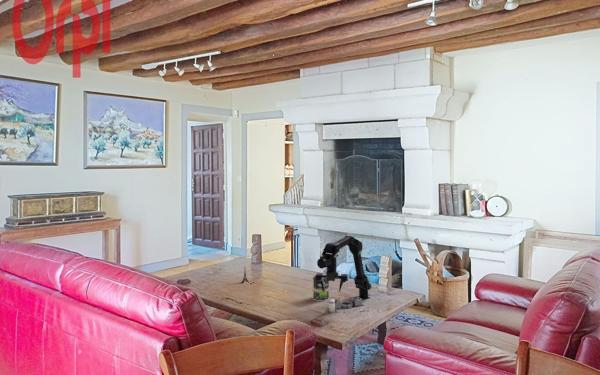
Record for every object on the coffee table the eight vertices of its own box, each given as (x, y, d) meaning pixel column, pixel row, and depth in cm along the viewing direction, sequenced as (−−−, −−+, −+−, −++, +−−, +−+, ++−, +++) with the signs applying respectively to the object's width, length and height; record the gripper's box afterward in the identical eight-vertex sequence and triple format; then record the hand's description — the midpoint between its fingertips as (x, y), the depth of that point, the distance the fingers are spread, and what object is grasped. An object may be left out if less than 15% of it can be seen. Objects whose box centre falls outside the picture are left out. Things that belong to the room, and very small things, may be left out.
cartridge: (328, 312, 267) (328, 300, 266) (329, 310, 270) (328, 298, 270) (334, 312, 266) (334, 301, 266) (335, 310, 270) (335, 299, 269)
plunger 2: (353, 303, 281) (353, 296, 281) (357, 303, 283) (357, 296, 282) (355, 305, 279) (355, 298, 278) (360, 304, 280) (360, 297, 279)
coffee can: (331, 300, 290) (331, 278, 289) (315, 302, 287) (315, 280, 286) (326, 295, 300) (325, 274, 299) (311, 297, 297) (310, 276, 296)
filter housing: (327, 306, 278) (327, 300, 278) (358, 302, 286) (358, 295, 286) (333, 311, 270) (333, 304, 270) (365, 306, 278) (365, 299, 278)
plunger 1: (332, 306, 276) (332, 299, 276) (337, 306, 277) (337, 299, 277) (334, 308, 273) (334, 301, 273) (339, 307, 275) (339, 300, 274)
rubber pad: (325, 311, 270) (325, 310, 270) (334, 310, 272) (334, 309, 272) (329, 314, 265) (329, 313, 265) (338, 313, 267) (338, 312, 267)
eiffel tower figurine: (244, 287, 324) (243, 268, 323) (233, 285, 329) (233, 266, 328) (257, 282, 336) (257, 264, 335) (246, 280, 342) (246, 262, 341)
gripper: (314, 268, 260) (314, 295, 261) (347, 269, 257) (347, 296, 258) (316, 263, 271) (316, 289, 272) (347, 264, 268) (347, 290, 269)
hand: (331, 291), depth 267 cm, fingers open, 9 cm apart
